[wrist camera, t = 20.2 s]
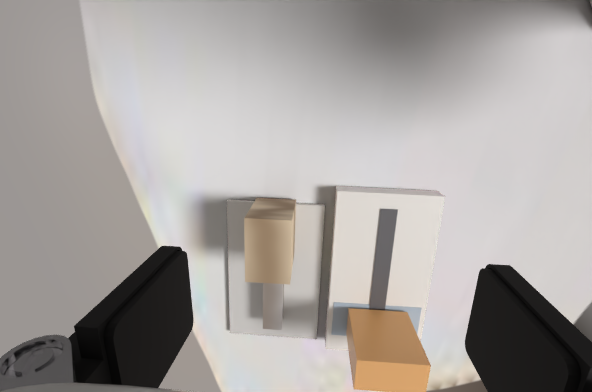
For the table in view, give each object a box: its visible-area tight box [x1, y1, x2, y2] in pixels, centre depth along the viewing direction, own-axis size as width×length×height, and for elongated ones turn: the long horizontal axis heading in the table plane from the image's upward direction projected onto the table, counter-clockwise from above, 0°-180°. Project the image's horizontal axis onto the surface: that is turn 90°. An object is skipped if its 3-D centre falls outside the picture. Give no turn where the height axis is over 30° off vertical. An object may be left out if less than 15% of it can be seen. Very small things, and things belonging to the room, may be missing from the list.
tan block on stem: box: [244, 198, 296, 330], centre depth 32 cm, size 4×14×6 cm, turn 178°
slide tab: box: [346, 308, 431, 392], centre depth 31 cm, size 6×3×7 cm, turn 88°
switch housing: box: [325, 186, 445, 351], centre depth 34 cm, size 10×18×2 cm, turn 178°
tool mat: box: [227, 199, 325, 339], centre depth 36 cm, size 10×16×1 cm, turn 178°
